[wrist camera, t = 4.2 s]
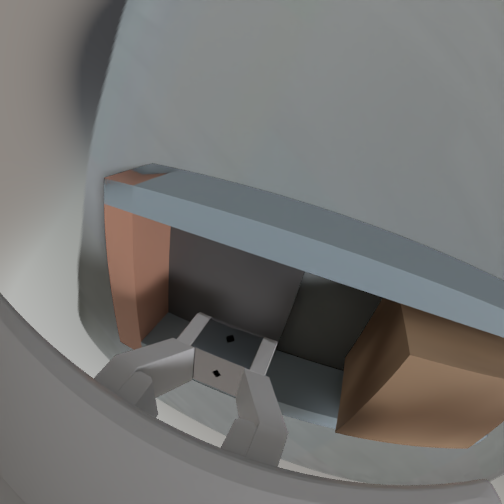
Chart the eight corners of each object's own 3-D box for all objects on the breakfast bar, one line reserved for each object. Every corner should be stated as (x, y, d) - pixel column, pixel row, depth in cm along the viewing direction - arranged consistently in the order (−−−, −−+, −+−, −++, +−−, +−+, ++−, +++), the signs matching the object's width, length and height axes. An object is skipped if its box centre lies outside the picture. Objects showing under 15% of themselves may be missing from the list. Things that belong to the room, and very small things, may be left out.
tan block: (393, 275, 10) (409, 354, 6) (510, 322, 9) (539, 386, 5) (345, 355, 12) (334, 432, 9) (457, 385, 11) (467, 448, 7)
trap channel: (152, 163, 11) (103, 177, 9) (553, 307, 7) (575, 341, 4) (151, 310, 15) (120, 341, 13) (471, 408, 11) (477, 443, 8)
